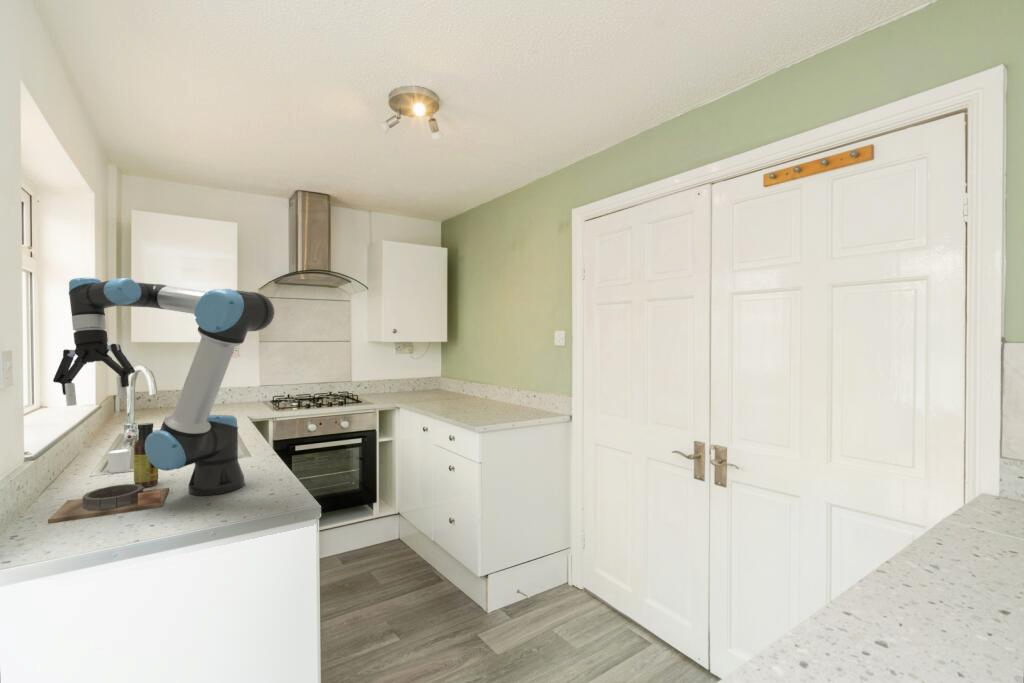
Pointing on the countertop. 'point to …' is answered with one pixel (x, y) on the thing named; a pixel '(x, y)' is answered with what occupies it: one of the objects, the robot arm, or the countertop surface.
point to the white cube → (119, 460)
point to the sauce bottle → (144, 459)
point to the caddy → (110, 502)
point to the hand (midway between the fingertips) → (97, 402)
